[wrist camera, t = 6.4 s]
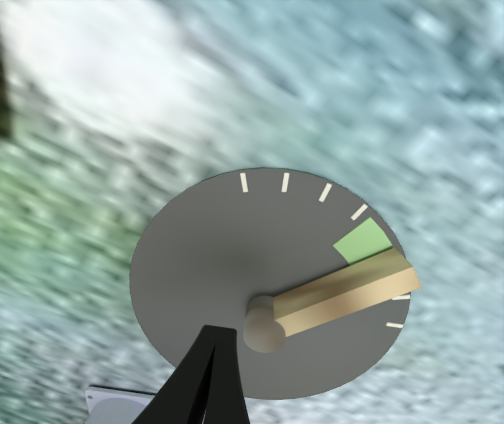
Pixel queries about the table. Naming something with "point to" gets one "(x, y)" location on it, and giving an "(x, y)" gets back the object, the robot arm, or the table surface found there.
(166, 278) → the dial
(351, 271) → the pointer
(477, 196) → the table surface
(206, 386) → the robot arm
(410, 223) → the table surface
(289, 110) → the table surface
